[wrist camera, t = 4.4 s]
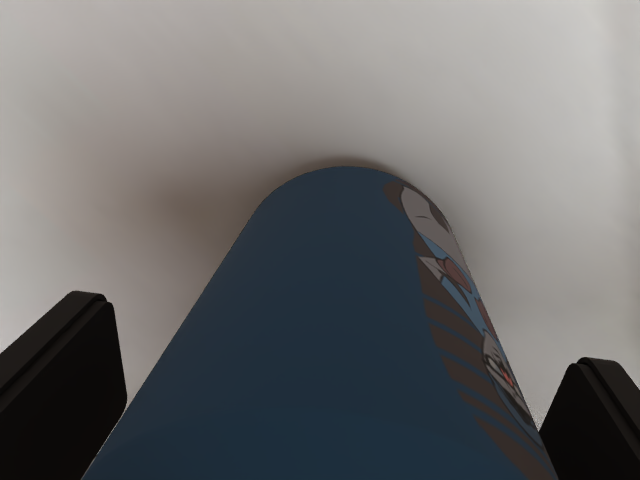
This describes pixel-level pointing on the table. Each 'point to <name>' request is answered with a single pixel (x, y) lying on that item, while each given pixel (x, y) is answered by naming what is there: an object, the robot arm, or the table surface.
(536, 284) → the table surface
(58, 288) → the table surface
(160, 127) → the table surface
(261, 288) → the soda can
